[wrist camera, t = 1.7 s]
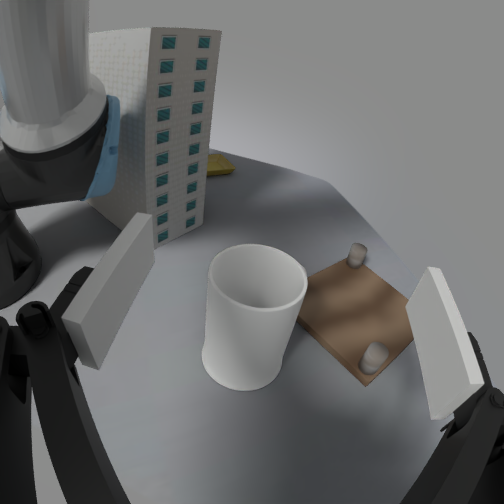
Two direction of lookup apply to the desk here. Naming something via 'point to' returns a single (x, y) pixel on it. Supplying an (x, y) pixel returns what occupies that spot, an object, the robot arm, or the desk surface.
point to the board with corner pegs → (356, 316)
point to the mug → (250, 314)
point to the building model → (158, 123)
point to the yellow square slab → (218, 165)
